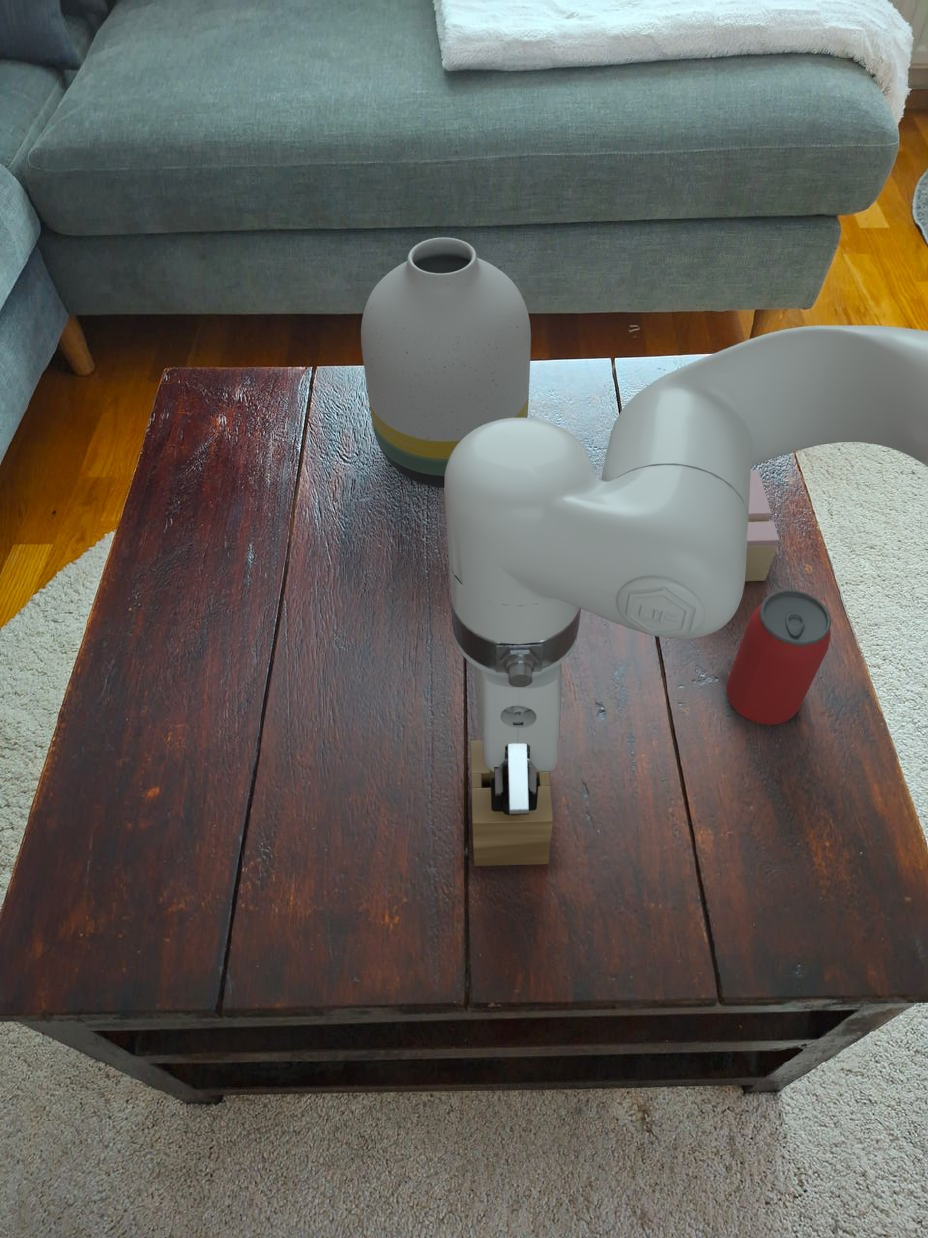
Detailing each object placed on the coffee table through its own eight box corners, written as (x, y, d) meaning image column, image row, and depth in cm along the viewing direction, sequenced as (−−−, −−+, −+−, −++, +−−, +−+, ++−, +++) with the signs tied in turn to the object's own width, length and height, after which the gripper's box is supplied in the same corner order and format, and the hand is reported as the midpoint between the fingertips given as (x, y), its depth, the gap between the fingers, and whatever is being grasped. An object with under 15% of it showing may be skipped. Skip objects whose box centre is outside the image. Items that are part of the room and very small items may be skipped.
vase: (376, 406, 110) (351, 211, 91) (519, 398, 111) (524, 202, 92) (376, 509, 100) (348, 315, 81) (534, 500, 100) (543, 304, 81)
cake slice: (765, 581, 93) (780, 540, 88) (674, 583, 93) (684, 542, 88) (760, 561, 94) (774, 520, 90) (670, 564, 94) (679, 523, 90)
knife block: (548, 864, 75) (553, 821, 69) (474, 866, 76) (472, 823, 69) (542, 786, 80) (546, 738, 73) (472, 788, 80) (470, 740, 73)
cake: (757, 554, 95) (771, 513, 90) (669, 557, 95) (678, 515, 90) (746, 511, 99) (758, 469, 94) (660, 514, 99) (668, 472, 94)
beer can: (722, 720, 83) (751, 640, 74) (727, 661, 87) (755, 577, 78) (798, 734, 82) (838, 655, 73) (800, 674, 86) (838, 591, 76)
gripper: (595, 739, 49) (572, 872, 64) (567, 503, 60) (553, 662, 74) (452, 743, 50) (462, 875, 64) (450, 506, 60) (458, 664, 74)
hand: (511, 759), depth 69 cm, fingers open, 6 cm apart
